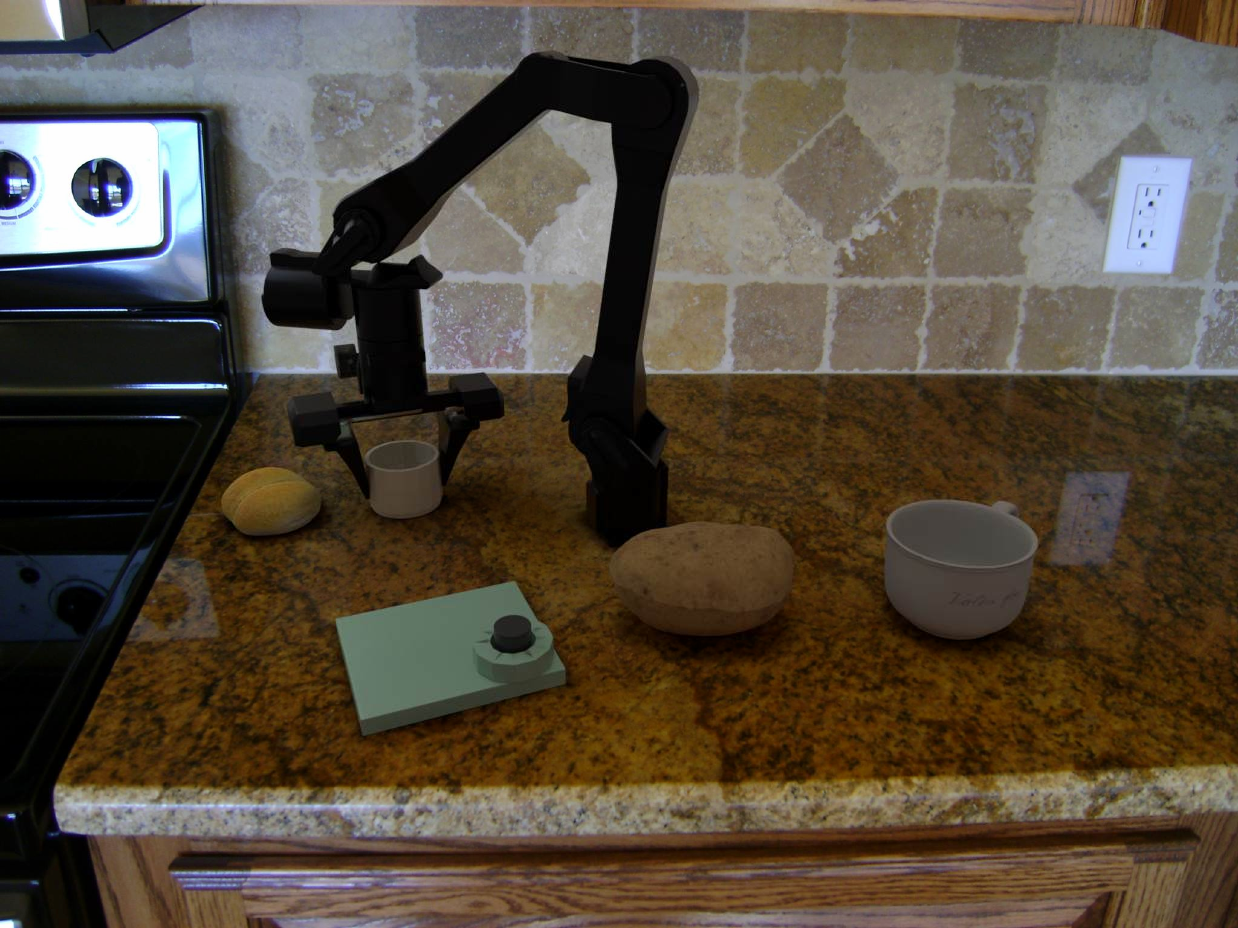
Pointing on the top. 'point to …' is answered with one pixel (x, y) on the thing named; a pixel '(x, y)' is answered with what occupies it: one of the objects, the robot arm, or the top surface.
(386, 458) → the grey cylindrical container
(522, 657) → the scale
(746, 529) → the potato
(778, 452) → the top surface
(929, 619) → the teacup
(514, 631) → the button
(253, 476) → the bread roll
